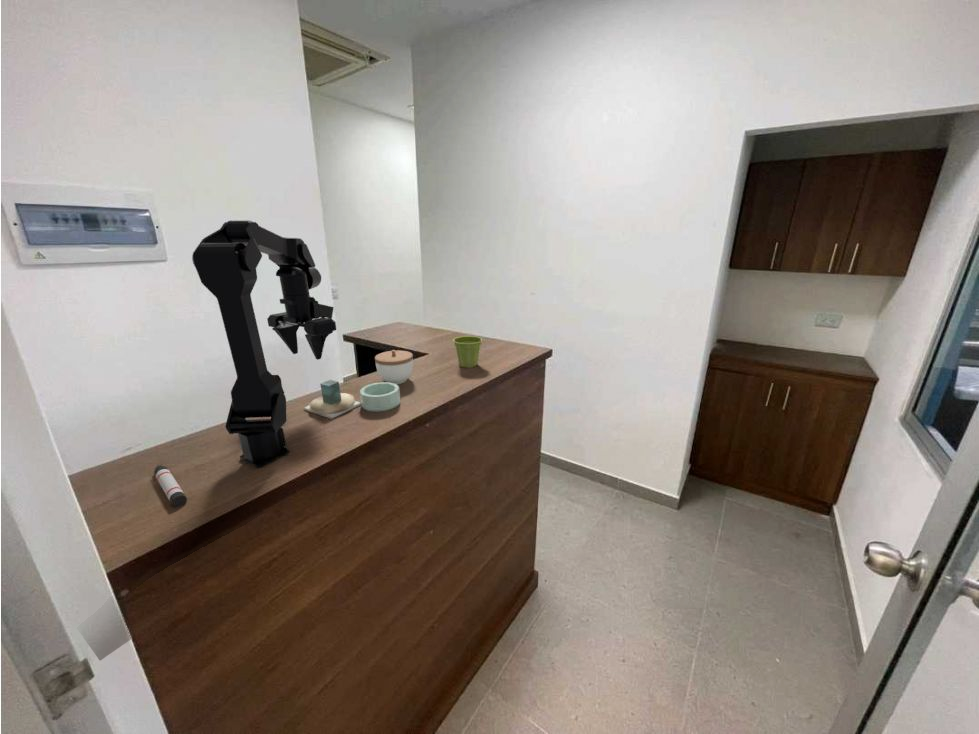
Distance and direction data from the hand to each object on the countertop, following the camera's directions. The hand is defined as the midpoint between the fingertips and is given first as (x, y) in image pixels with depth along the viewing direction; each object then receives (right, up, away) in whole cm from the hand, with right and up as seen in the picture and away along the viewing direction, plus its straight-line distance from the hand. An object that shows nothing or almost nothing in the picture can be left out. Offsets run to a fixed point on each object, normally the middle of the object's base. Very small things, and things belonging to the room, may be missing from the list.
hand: (306, 356), depth 96 cm
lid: (+7, -12, 0) cm, 14 cm away
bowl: (+18, -12, +2) cm, 22 cm away
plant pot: (+39, -2, +30) cm, 49 cm away
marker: (-10, -24, -30) cm, 39 cm away
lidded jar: (+18, -7, +17) cm, 26 cm away
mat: (+7, -13, 0) cm, 14 cm away
